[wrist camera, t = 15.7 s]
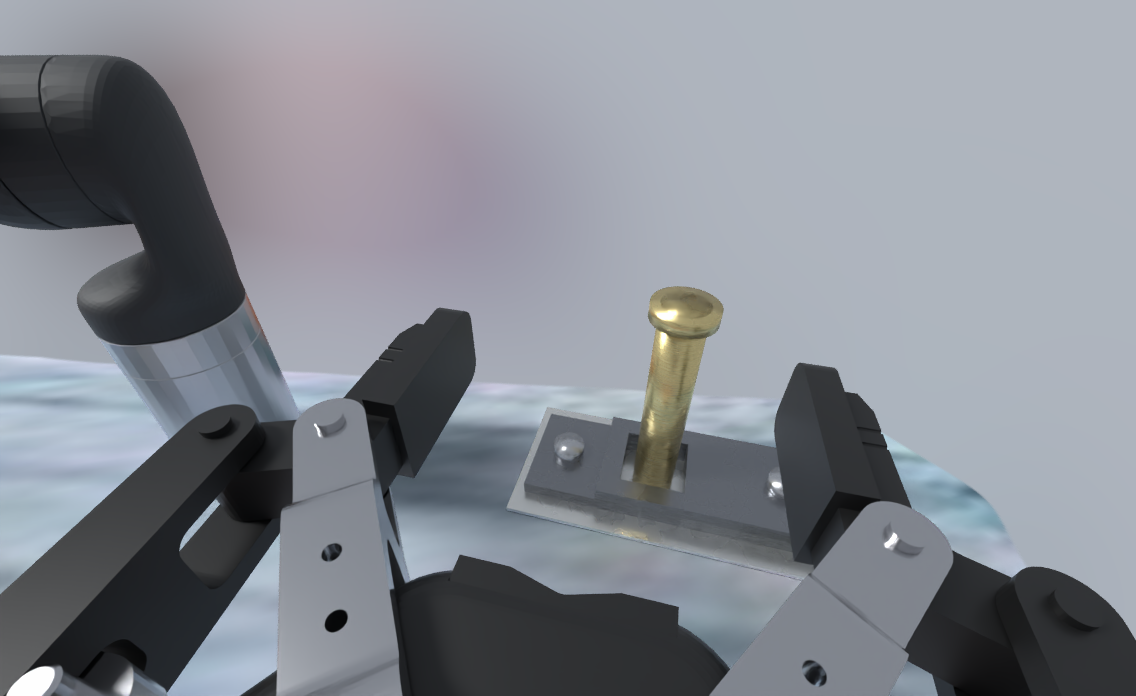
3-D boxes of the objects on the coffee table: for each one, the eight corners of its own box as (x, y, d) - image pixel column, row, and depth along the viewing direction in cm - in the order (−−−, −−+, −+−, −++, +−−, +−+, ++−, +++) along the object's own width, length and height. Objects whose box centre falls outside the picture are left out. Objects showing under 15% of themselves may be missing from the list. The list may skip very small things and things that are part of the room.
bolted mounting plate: (506, 510, 42) (503, 483, 40) (547, 409, 52) (547, 383, 50) (850, 591, 37) (869, 565, 35) (821, 462, 47) (834, 436, 45)
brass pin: (614, 472, 45) (635, 298, 34) (654, 450, 47) (686, 280, 36) (649, 510, 42) (686, 333, 30) (690, 485, 44) (738, 310, 33)
